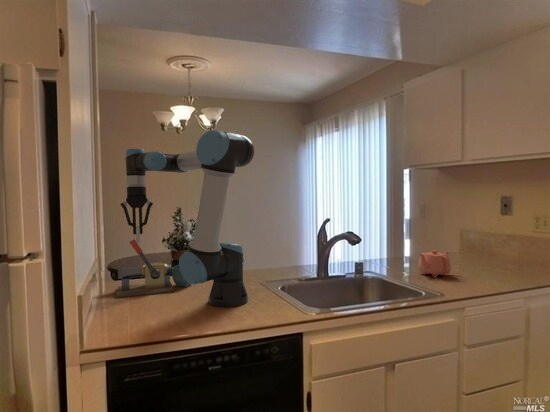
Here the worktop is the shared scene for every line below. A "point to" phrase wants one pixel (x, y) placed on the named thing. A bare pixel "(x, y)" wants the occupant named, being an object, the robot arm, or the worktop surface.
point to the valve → (146, 275)
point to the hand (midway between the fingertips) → (138, 241)
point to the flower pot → (179, 277)
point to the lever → (145, 260)
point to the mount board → (142, 291)
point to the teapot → (434, 263)
